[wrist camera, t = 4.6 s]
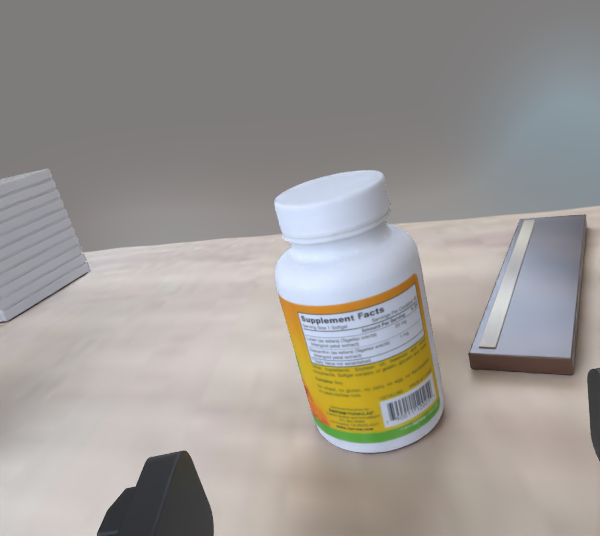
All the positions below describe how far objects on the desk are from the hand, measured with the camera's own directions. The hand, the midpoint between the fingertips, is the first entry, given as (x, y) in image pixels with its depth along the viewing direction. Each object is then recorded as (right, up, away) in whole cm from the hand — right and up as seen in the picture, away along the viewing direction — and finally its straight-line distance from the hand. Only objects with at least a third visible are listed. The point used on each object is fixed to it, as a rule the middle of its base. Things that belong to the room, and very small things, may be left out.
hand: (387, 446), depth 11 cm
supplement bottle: (+2, -3, +11) cm, 12 cm away
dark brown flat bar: (+11, +3, +18) cm, 22 cm away
